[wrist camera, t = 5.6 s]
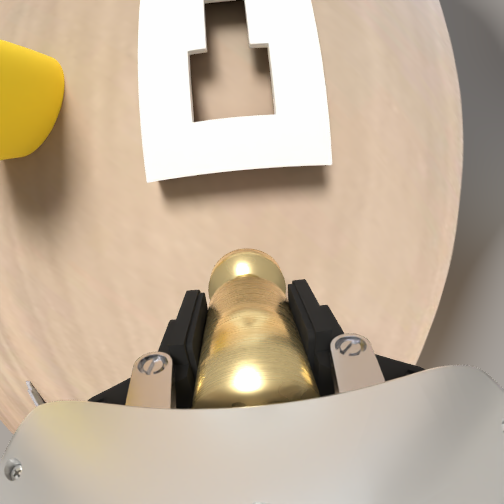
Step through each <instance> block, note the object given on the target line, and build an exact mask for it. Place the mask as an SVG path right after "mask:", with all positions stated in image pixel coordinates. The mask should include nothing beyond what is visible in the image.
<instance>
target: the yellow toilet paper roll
mask: <svg viewBox="0 0 504 504" xmlns="http://www.w3.org/2000/svg"><path fill="white" fill-rule="evenodd" d="M63 95H64V74H63V70H62V68H61V66H60V64H59V63H58V61H57V60H55V59H54V58H52V57H49V56H47V55H44V54H41V53H39V52H36V51H33V50H30V49H28V48H25V47H22V46H19V45H16V44H13V43H10V42H6V41H3V40H0V160H5V159H11V158H19V157H24V156H27V155H29V154H31V153H32V152H34V151H35V150H36V149H37V148H38V147H39V146H40V145H41V144H42V143H43V142H44V141H45V139H46V138H47V136H48V135H49V133H50V132H51V130H52V128H53V126H54V124H55V122H56V119H57V117H58V114H59V112H60V108H61V105H62V101H63Z"/></svg>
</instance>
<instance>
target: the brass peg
mask: <svg viewBox="0 0 504 504" xmlns="http://www.w3.org/2000/svg"><path fill="white" fill-rule="evenodd" d="M208 291H209V298H210V303H209V308H208V313H207V319H206V324H205V330H204V335H203V341H202V347H201V353H200V359H199V365H198V371H197V377H196V383H195V389H194V396H193V402H192V409H206V408H232V407H247V406H258V405H268V404H277V403H285V402H292V401H299V400H305V399H311V398H317V397H320V394H319V391H318V388H317V385H316V382H315V379H314V376H313V373H312V370H311V367H310V364H309V361H308V358H307V355H306V352H305V349H304V346H303V343H302V340H301V337H300V335H299V332H298V329H297V326H296V323H295V320H294V317H293V314H292V311H291V309H290V306H289V303H288V300H287V298H286V296H285V293H286V285H285V280H284V277H283V275H282V272H281V270H280V267H279V266H278V264H277V263H276V261H275V260H274V259H273V258H272V257H271V256H269V255H268V254H266V253H264V252H262V251H259V250H255V249H238V250H235V251H232V252H230V253H228V254H226V255H225V256H223V257H222V258H221V259H220V260H219V261H218V262H217V263H216V265H215V266H214V268H213V270H212V273H211V277H210V282H209V289H208Z"/></svg>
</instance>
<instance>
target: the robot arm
mask: <svg viewBox="0 0 504 504" xmlns="http://www.w3.org/2000/svg"><path fill="white" fill-rule="evenodd" d="M288 303H289V306H290V309H291V311H292V314H293V317H294V320H295V323H296V326H297V329H298V332H299V335H300V337H301V340H302V343H303V346H304V349H305V352H306V355H307V358H308V361H309V364H310V367H311V370H312V373H313V376H314V379H315V382H316V385H317V388H318V391H319V394H320V397H317V398H311V399H305V400H299V401H292V402H285V403H277V404H268V405H258V406H247V407H232V408H206V409H192V402H193V396H194V389H195V383H196V377H197V371H198V365H199V359H200V353H201V347H202V341H203V335H204V330H205V324H206V319H207V313H208V308H207V302H206V297H205V293H200V290H190V291H187V292H186V294H185V297H184V299H183V302H182V305H181V308H180V310H179V313H178V316H177V319H176V320H170V322H169V324H168V327H167V329H166V332H165V334H164V337H163V340H162V342H161V345H160V348H159V350H158V352H151V353H147V354H145V355H142V356H141V357H139V358H138V359H137V360H136V361H135V363H134V366H133V370H132V375H131V378H129V379H127V380H125V381H123V382H121V383H120V384H118V385H116V386H114V387H112V388H110V389H108V390H106V391H104V392H102V393H100V394H98V395H96V396H94V397H92V398H91V399H89V400H88V401H78V400H62V401H54V402H48V403H44V404H41V405H39V406H37V407H35V408H34V409H33V410H32V411H31V412H30V413H29V414H28V415H27V416H26V417H25V419H24V420H23V421H22V423H21V424H20V426H19V427H18V429H17V430H16V432H15V433H14V435H13V437H12V439H11V441H10V442H9V444H8V446H7V448H6V450H5V452H4V453H3V456H2V458H1V460H0V504H504V389H503V388H502V387H501V386H500V385H499V384H498V383H497V382H496V381H495V380H494V379H492V377H491V376H489V375H488V374H487V373H485V372H484V371H483V370H481V369H479V368H477V367H474V366H469V365H448V366H442V367H435V368H431V369H427V370H425V369H423V368H421V367H418V366H415V365H411V364H407V363H404V362H400V361H397V360H393V359H390V358H386V357H383V356H379V355H376V354H375V353H374V351H373V349H372V346H371V344H370V342H369V341H368V339H366V338H365V337H363V336H361V335H358V334H344V332H343V331H342V329H341V327H340V325H339V324H338V322H337V320H336V319H335V317H334V315H333V313H332V312H331V310H330V308H329V307H328V305H322V306H320V305H319V303H318V302H317V300H316V298H315V296H314V294H313V292H312V291H311V289H310V287H309V285H308V283H307V282H306V280H305V279H303V280H294V281H292V284H288Z"/></svg>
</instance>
